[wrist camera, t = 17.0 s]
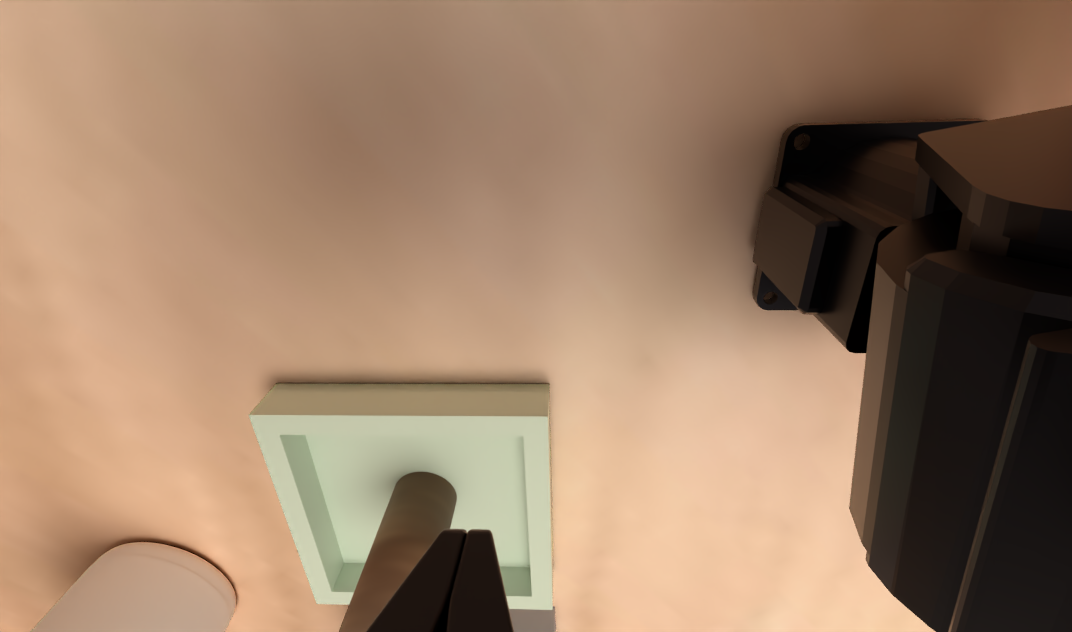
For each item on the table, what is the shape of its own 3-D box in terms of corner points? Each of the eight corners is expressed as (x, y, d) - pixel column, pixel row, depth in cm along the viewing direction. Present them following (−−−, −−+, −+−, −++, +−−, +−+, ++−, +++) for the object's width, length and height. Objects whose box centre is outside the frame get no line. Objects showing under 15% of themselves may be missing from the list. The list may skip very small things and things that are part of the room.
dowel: (453, 471, 23) (413, 622, 17) (460, 517, 25) (426, 673, 18) (389, 471, 23) (327, 621, 17) (399, 517, 25) (345, 671, 19)
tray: (549, 383, 21) (548, 416, 20) (553, 569, 27) (552, 609, 25) (276, 383, 22) (248, 414, 20) (334, 565, 28) (316, 603, 26)
